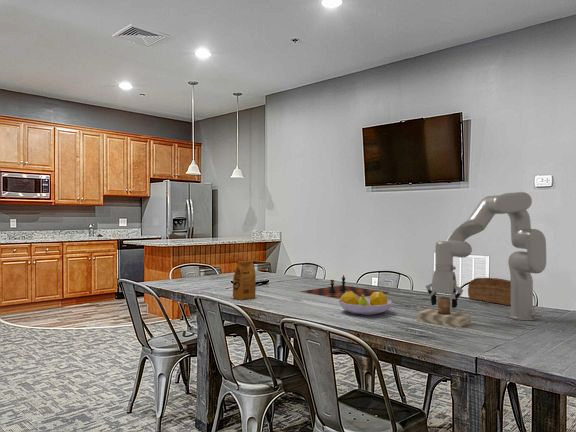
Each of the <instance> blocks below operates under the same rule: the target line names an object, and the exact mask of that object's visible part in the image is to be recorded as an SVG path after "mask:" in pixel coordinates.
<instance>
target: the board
mask: <svg viewBox="0 0 576 432" xmlns="http://www.w3.org/2000/svg"><path fill="white" fill-rule="evenodd" d="M416 312H417V315H416V316H417V317H416V318H417V319H416V321H417V322H421V321H422V322H421V323H427V322H428V323H429V324H433V323H435V324H434V325H439V324H440V325H441V326H444V325H447V326H446V327H450V326H453V327H452V328H456V327H458V329H460V327H461V328H463V326H464V327H466V326H468V324H469V325H471V324H472V314H468V313H461V312H455V311H450V314H448V315H443V314H438V309H434V308H426V309H424V310H420V311H416ZM470 323H471V324H470ZM440 325H439V326H440ZM465 325H466V326H465Z"/></svg>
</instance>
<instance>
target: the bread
mask: <svg viewBox="0 0 576 432" xmlns="http://www.w3.org/2000/svg"><path fill="white" fill-rule="evenodd" d="M467 296H468V298H469V299H470V298H471V299H470V300H474V301H481V302H487V303H493V304H494V303H496V304H500V305H504V306H510V305H511V280H508V279H504V278H498V277H477V278H474V279H472V280H471V281H470V282H469V283H468V285H467ZM477 299H478V300H477ZM482 300H483V301H482Z"/></svg>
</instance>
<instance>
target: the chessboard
mask: <svg viewBox="0 0 576 432" xmlns="http://www.w3.org/2000/svg"><path fill="white" fill-rule="evenodd" d="M329 281H330V286H327V287H320V288H314V289H313V288H312V289H305V290H300V291H299V292H300V293H304V294H311V295H314V296H321V297H327V298H332V299H338V300H339V299H340V298H341V296H342V295H343V294H344V293H346V292H349V291H352V292H353V293H355V294H356V295H358V297H362V295H364V297H370V295H371V294H372V293H373V292H383V293H384V295H386V294H389V291H383V290H376V289H370V288H364V287H358V286H357V287H356V286H352V285H351V286H349V285H346V277H345V275H342V277H341V285H340V284H339V285H335V283H334V282H335V279H329Z"/></svg>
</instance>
